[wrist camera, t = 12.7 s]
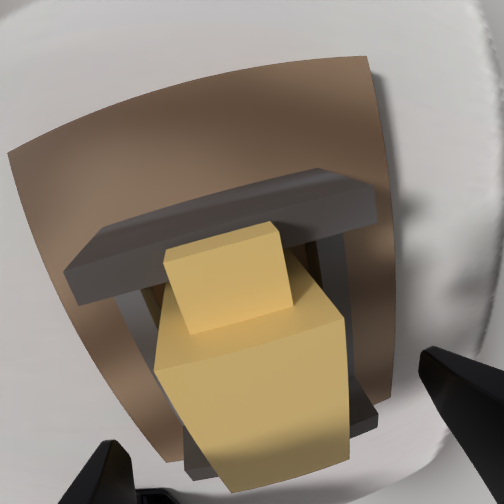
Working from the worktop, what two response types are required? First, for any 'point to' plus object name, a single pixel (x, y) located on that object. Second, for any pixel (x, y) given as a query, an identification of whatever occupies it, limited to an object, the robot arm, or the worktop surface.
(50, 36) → the worktop surface
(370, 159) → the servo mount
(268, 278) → the block
